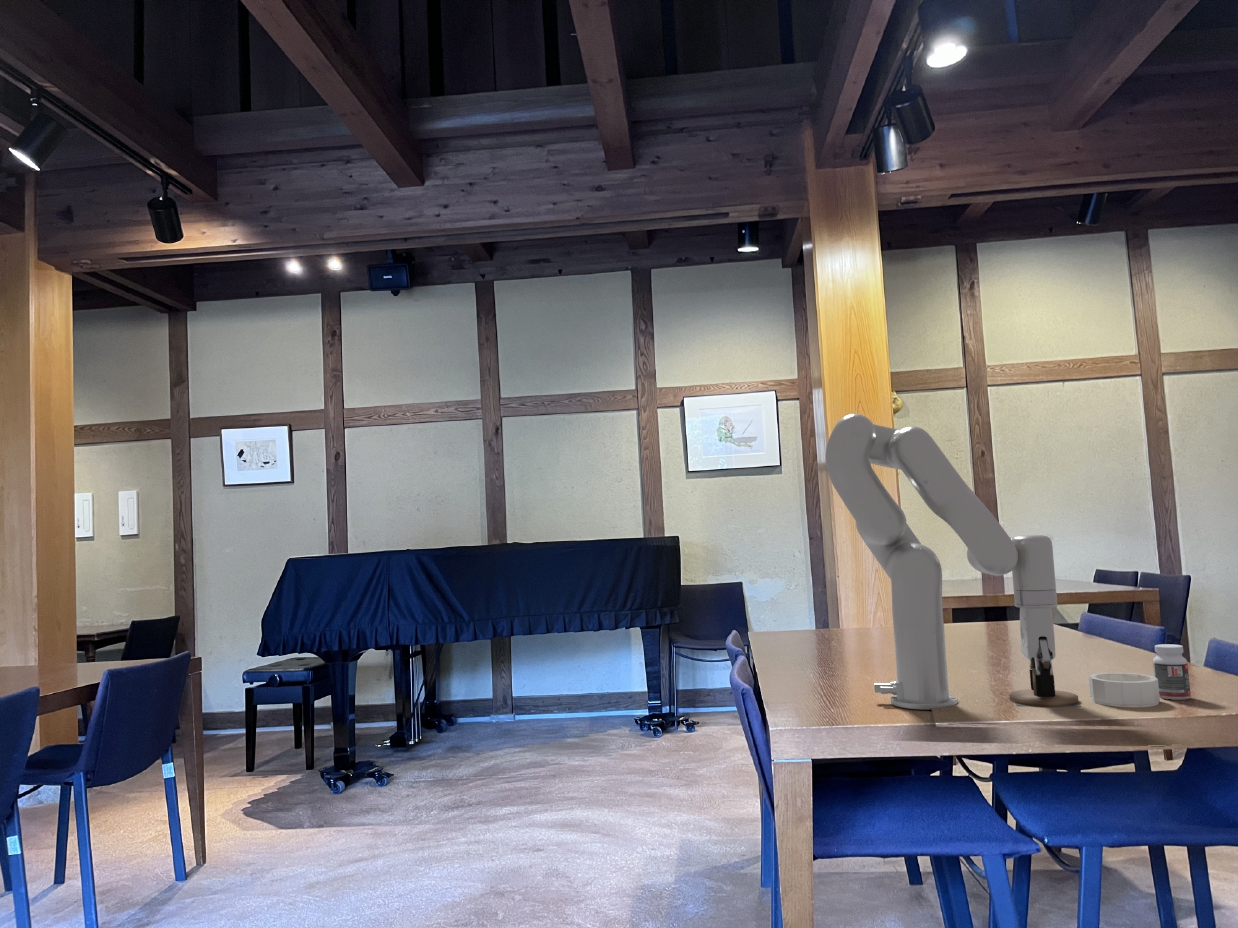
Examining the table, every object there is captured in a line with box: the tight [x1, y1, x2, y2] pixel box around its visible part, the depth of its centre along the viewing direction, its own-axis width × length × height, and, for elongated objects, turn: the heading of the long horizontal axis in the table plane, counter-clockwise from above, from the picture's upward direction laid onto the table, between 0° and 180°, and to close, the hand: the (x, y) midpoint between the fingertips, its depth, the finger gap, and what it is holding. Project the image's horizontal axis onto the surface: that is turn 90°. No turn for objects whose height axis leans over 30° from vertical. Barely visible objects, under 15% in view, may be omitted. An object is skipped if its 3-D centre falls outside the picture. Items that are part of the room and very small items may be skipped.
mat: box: [1014, 702, 1082, 708], centre depth 170 cm, size 11×11×1 cm
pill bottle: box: [1152, 643, 1192, 701], centre depth 170 cm, size 6×6×10 cm
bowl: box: [1088, 672, 1161, 708], centre depth 166 cm, size 11×11×5 cm
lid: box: [1008, 668, 1079, 708], centre depth 170 cm, size 12×12×6 cm
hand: (1042, 692), depth 170 cm, fingers open, 5 cm apart
